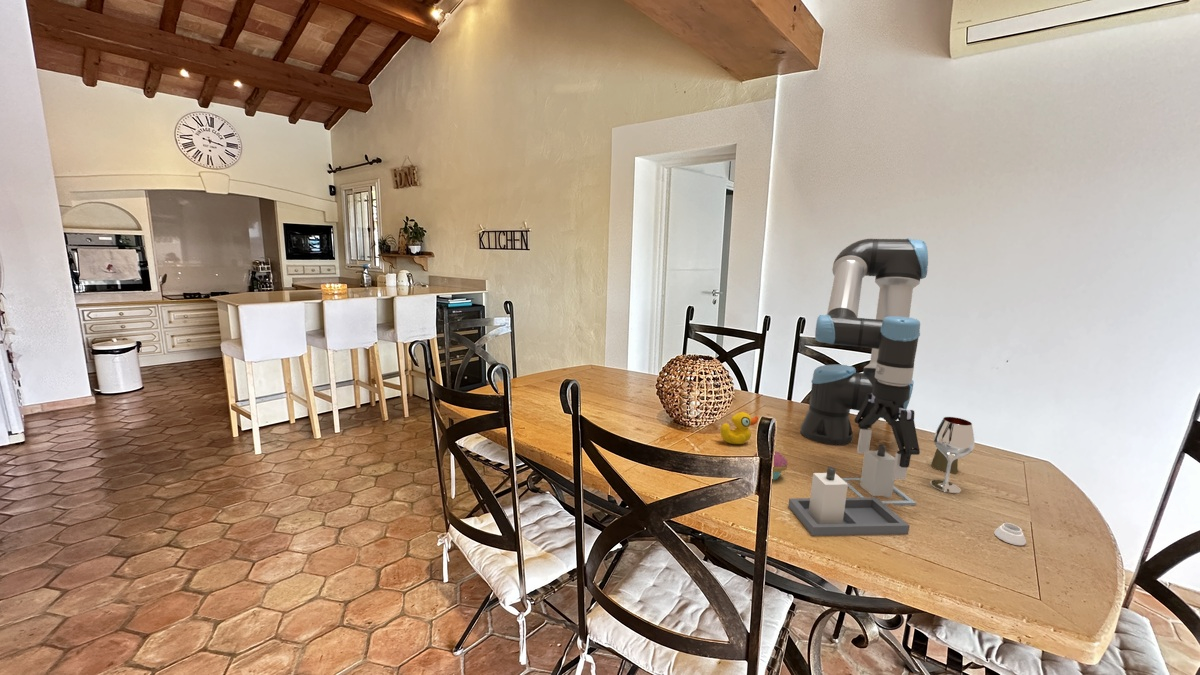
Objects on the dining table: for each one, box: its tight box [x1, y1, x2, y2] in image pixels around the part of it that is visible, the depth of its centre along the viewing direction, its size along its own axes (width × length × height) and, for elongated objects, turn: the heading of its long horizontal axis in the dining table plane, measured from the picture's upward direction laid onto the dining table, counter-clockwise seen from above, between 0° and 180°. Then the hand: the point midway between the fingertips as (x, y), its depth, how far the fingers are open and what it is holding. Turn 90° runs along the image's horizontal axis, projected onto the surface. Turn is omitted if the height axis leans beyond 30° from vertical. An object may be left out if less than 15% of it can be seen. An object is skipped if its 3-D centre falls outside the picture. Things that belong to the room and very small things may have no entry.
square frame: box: [840, 477, 917, 506], centre depth 115 cm, size 12×12×1 cm
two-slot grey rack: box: [788, 496, 910, 537], centre depth 102 cm, size 11×21×2 cm, turn 93°
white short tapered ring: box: [993, 522, 1027, 546], centre depth 97 cm, size 5×3×5 cm
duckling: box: [720, 411, 759, 445], centre depth 141 cm, size 11×5×10 cm, turn 93°
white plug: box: [808, 466, 849, 524], centre depth 101 cm, size 5×5×12 cm
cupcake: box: [753, 450, 788, 481], centre depth 120 cm, size 9×8×12 cm
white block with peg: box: [859, 444, 896, 499], centre depth 114 cm, size 5×5×12 cm
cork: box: [930, 447, 959, 474], centre depth 127 cm, size 6×6×11 cm
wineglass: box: [929, 416, 976, 494], centre depth 116 cm, size 8×8×18 cm
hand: (879, 465), depth 113 cm, fingers open, 13 cm apart
